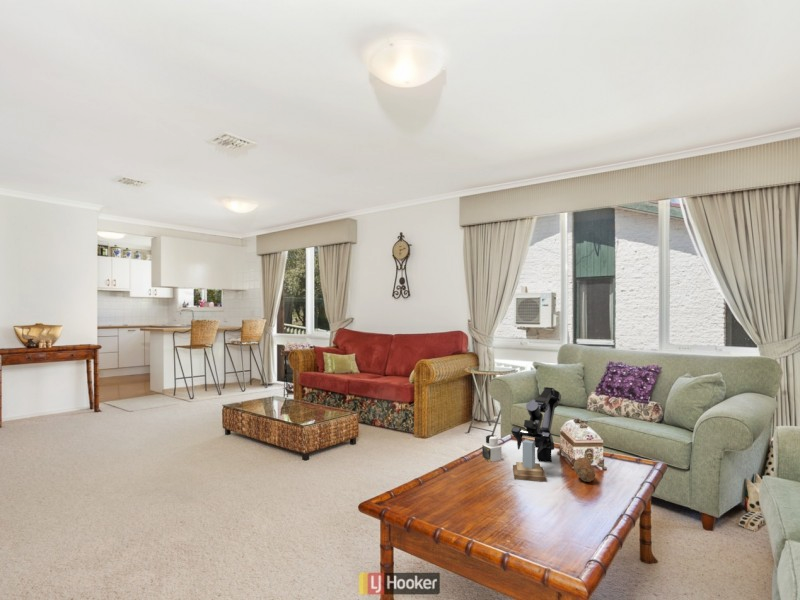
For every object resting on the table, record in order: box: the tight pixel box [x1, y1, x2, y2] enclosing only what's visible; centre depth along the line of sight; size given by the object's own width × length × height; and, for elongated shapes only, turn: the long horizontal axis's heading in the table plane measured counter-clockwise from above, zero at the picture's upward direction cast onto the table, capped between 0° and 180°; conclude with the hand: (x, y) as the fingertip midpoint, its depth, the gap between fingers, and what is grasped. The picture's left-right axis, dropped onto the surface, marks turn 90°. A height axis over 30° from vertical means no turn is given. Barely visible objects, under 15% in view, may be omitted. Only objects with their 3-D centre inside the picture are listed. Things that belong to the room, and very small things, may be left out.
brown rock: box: [573, 456, 596, 483], centre depth 211 cm, size 10×13×10 cm
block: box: [522, 438, 536, 469], centre depth 216 cm, size 4×4×12 cm
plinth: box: [512, 461, 547, 483], centre depth 216 cm, size 14×14×4 cm
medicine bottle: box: [482, 434, 502, 463], centre depth 239 cm, size 7×7×12 cm
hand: (527, 450), depth 215 cm, fingers open, 9 cm apart
